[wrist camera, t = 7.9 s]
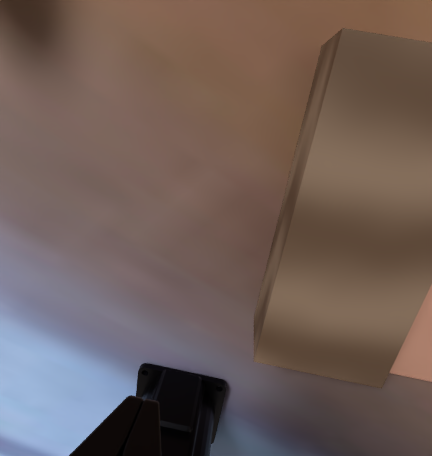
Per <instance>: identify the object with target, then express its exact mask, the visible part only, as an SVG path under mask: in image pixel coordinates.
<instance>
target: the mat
mask: <svg viewBox="0 0 432 456" xmlns="http://www.w3.org/2000/svg"><path fill="white" fill-rule="evenodd" d="M389 373H392V374H397V375H402V376H406V377H411V378H416V379H421V380H425V381H430V382H432V285H431V287H430V289H429V291H428V293H427V295H426V297H425V299H424V301H423V304H422V306H421V308H420V310H419V312H418V314H417V316H416V318H415V320H414V322H413V324H412V326H411V328H410V331H409V333H408V335H407V337H406V339H405V341H404V343H403V345H402V347H401V349H400V351H399V353H398V356H397V358H396V360H395V362H394V364H393V366H392V368H391V370H390V372H389Z"/></svg>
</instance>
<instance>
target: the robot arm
mask: <svg viewBox="0 0 432 456" xmlns="http://www.w3.org/2000/svg"><path fill="white" fill-rule="evenodd" d="M145 370H146V371H145ZM218 386H220V387H218ZM225 392H226V382H225V381H224V380H221V379H217V378H212V377H208V376H203V375H198V374H194V373H189V372H184V371H180V370H175V369H170V368H166V367H161V366H156V365H152V364H146V363H144V364H142V365H141V366H140V368H139V371H138V380H137V391H136V396H128V397H127V398H126V399H125V400H124V401H123V402H122V403H121V404H120V405H119V406H118V407H117V408H116V409H115V410H114V411H113V412H112V413H111V414H110V415H109V416H108V417H107V418H106V419H105V420H104V421H103V422H102V423H101V424H100V425H99V426H98V427H97V428H96V429H95V430H94V431H93V432H92V433H91V434H90V435H89V436H88V437H87V438H86V439H85V440H84V441H83V442H82V443H81V444H80V445H79V446H78V447H77V448H76V449H75V450H74V451H73V452H72V453H71V454H70V455H69V456H209V454H210V447H211V444H212V443H213V442H214V439H215V435H216V431H217V426H218V422H219V418H220V414H221V409H222V405H223V401H224V397H225Z"/></svg>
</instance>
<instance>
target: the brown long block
mask: <svg viewBox="0 0 432 456" xmlns="http://www.w3.org/2000/svg"><path fill="white" fill-rule="evenodd" d="M431 285H432V43H431V42H425V41H419V40H413V39H407V38H400V37H394V36H388V35H382V34H376V33H370V32H363V31H357V30H351V29H345V28H342V29H341V30H340V31H339V32H338V33H337V34H335V35H334V36H333V37H332V38H331V39H329V40H328V41H327V42H326V43H325V44H324V45H322V47H321V51H320V55H319V59H318V63H317V67H316V71H315V75H314V79H313V83H312V87H311V91H310V95H309V99H308V103H307V107H306V111H305V115H304V119H303V123H302V127H301V131H300V135H299V139H298V143H297V147H296V151H295V155H294V159H293V163H292V167H291V171H290V175H289V179H288V183H287V187H286V191H285V195H284V199H283V203H282V207H281V211H280V215H279V219H278V223H277V227H276V231H275V235H274V239H273V243H272V247H271V251H270V255H269V259H268V263H267V267H266V271H265V275H264V279H263V283H262V287H261V291H260V295H259V299H258V303H257V307H256V311H255V315H254V362H259V363H263V364H268V365H273V366H278V367H282V368H287V369H292V370H297V371H301V372H306V373H311V374H316V375H320V376H325V377H330V378H335V379H339V380H344V381H349V382H354V383H358V384H363V385H368V386H373V387H377V388H382V387H383V385H384V383H385V380H386V378H387V376H388V374H389V372H390V370H391V368H392V366H393V364H394V362H395V360H396V358H397V356H398V353H399V351H400V349H401V347H402V345H403V343H404V341H405V339H406V337H407V335H408V333H409V331H410V328H411V326H412V324H413V322H414V320H415V318H416V316H417V314H418V312H419V310H420V308H421V306H422V304H423V301H424V299H425V297H426V295H427V293H428V291H429V289H430V287H431Z"/></svg>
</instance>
